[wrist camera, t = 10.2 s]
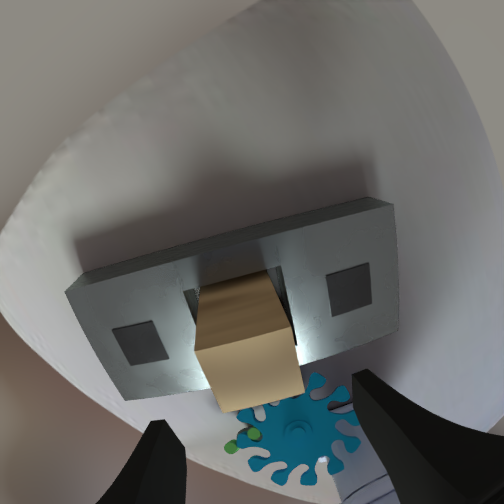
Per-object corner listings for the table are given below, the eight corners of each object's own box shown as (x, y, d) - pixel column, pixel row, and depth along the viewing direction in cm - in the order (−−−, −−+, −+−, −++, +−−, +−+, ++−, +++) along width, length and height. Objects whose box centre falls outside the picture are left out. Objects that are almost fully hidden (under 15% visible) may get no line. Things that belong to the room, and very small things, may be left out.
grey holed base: (379, 311, 21) (398, 331, 18) (133, 375, 21) (124, 401, 18) (369, 196, 18) (394, 204, 16) (82, 273, 18) (63, 292, 15)
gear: (350, 356, 20) (373, 473, 16) (343, 360, 26) (363, 455, 21) (209, 386, 22) (232, 497, 17) (230, 384, 27) (249, 476, 23)
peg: (275, 313, 20) (304, 392, 13) (219, 327, 20) (223, 413, 13) (262, 260, 19) (291, 326, 11) (201, 276, 19) (193, 351, 11)
